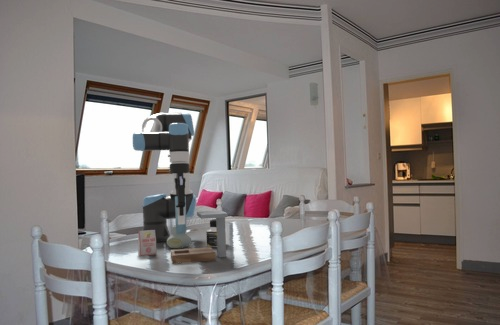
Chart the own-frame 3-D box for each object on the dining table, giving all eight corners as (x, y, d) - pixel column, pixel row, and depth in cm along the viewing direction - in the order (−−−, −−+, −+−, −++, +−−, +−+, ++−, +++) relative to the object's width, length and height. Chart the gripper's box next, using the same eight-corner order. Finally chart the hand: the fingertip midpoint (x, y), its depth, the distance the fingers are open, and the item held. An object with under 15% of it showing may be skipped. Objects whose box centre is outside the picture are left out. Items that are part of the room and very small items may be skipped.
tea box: (138, 254, 165) (137, 230, 166) (154, 252, 168) (153, 229, 169) (139, 256, 162) (139, 231, 162) (156, 254, 165) (155, 230, 165)
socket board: (170, 257, 157) (170, 250, 157) (210, 254, 161) (210, 246, 161) (172, 263, 145) (172, 255, 145) (215, 260, 149) (215, 252, 149)
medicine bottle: (206, 246, 179) (205, 220, 179) (213, 243, 185) (213, 218, 186) (220, 247, 176) (219, 220, 176) (227, 244, 183) (226, 218, 183)
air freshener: (163, 249, 176) (163, 226, 176) (172, 245, 184) (172, 224, 184) (186, 249, 173) (185, 226, 173) (194, 246, 181) (193, 224, 181)
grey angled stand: (198, 254, 161) (196, 211, 161) (222, 252, 163) (220, 210, 164) (202, 261, 147) (201, 214, 148) (228, 259, 150) (227, 213, 150)
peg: (186, 231, 154) (185, 196, 155) (186, 233, 151) (186, 196, 151) (175, 232, 153) (174, 196, 154) (176, 233, 150) (175, 196, 150)
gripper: (168, 164, 160) (170, 222, 159) (170, 162, 144) (172, 226, 143) (187, 163, 162) (188, 220, 161) (191, 161, 146) (193, 225, 145)
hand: (181, 223), depth 152 cm, fingers closed on peg, 4 cm apart
